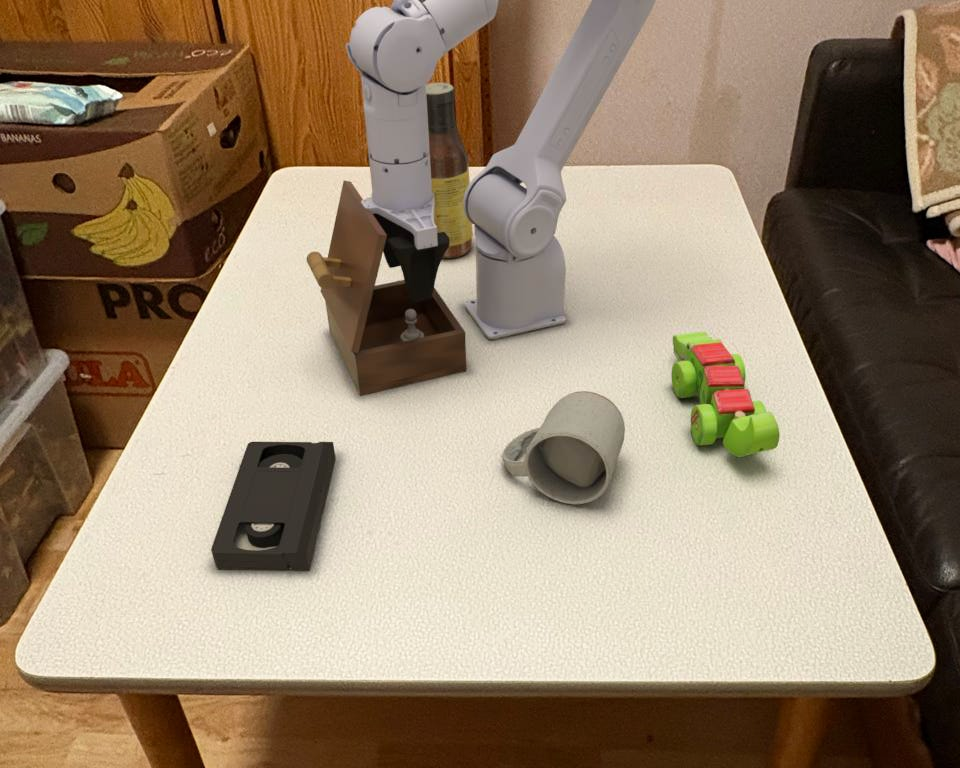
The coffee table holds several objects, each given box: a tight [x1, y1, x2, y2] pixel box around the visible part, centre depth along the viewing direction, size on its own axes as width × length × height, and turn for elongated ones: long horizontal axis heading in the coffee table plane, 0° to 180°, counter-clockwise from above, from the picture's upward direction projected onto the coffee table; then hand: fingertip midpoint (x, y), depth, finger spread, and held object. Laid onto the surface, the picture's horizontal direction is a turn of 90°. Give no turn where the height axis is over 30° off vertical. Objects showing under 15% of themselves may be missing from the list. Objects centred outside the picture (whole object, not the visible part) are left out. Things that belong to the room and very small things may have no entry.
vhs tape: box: [210, 441, 337, 571], centre depth 80 cm, size 14×8×2 cm, turn 178°
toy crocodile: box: [671, 331, 781, 458], centre depth 88 cm, size 20×7×6 cm, turn 5°
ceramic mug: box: [501, 390, 626, 505], centre depth 81 cm, size 11×8×8 cm
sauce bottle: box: [426, 82, 474, 259], centre depth 109 cm, size 6×6×20 cm
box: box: [324, 279, 467, 396], centre depth 97 cm, size 12×13×5 cm
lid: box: [306, 180, 387, 353], centre depth 90 cm, size 12×13×4 cm
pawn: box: [400, 309, 424, 342], centre depth 97 cm, size 3×3×4 cm
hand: (409, 281), depth 94 cm, fingers open, 7 cm apart
